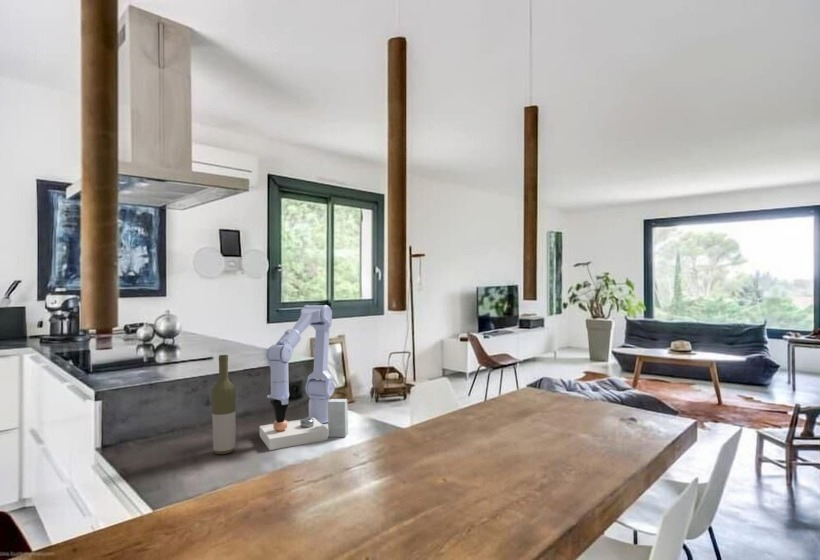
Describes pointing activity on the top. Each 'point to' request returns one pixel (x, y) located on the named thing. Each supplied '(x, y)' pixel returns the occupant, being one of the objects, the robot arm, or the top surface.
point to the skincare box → (337, 418)
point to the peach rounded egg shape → (280, 425)
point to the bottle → (223, 410)
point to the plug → (306, 422)
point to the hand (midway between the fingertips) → (280, 421)
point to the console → (292, 434)
